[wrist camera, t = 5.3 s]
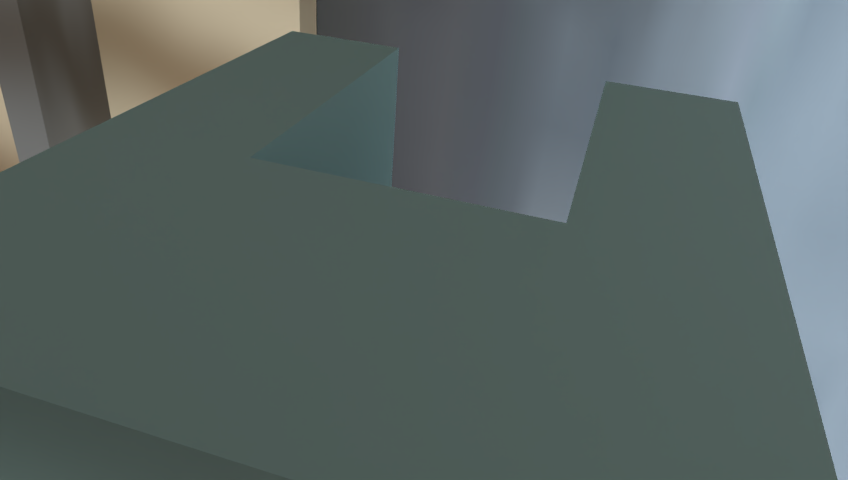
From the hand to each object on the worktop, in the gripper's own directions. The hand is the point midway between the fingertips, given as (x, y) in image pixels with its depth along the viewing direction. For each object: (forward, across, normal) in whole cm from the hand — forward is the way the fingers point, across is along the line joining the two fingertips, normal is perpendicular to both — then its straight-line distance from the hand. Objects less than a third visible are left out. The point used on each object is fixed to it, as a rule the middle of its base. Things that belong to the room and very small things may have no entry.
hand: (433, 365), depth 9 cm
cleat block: (+2, 0, 0) cm, 2 cm away
